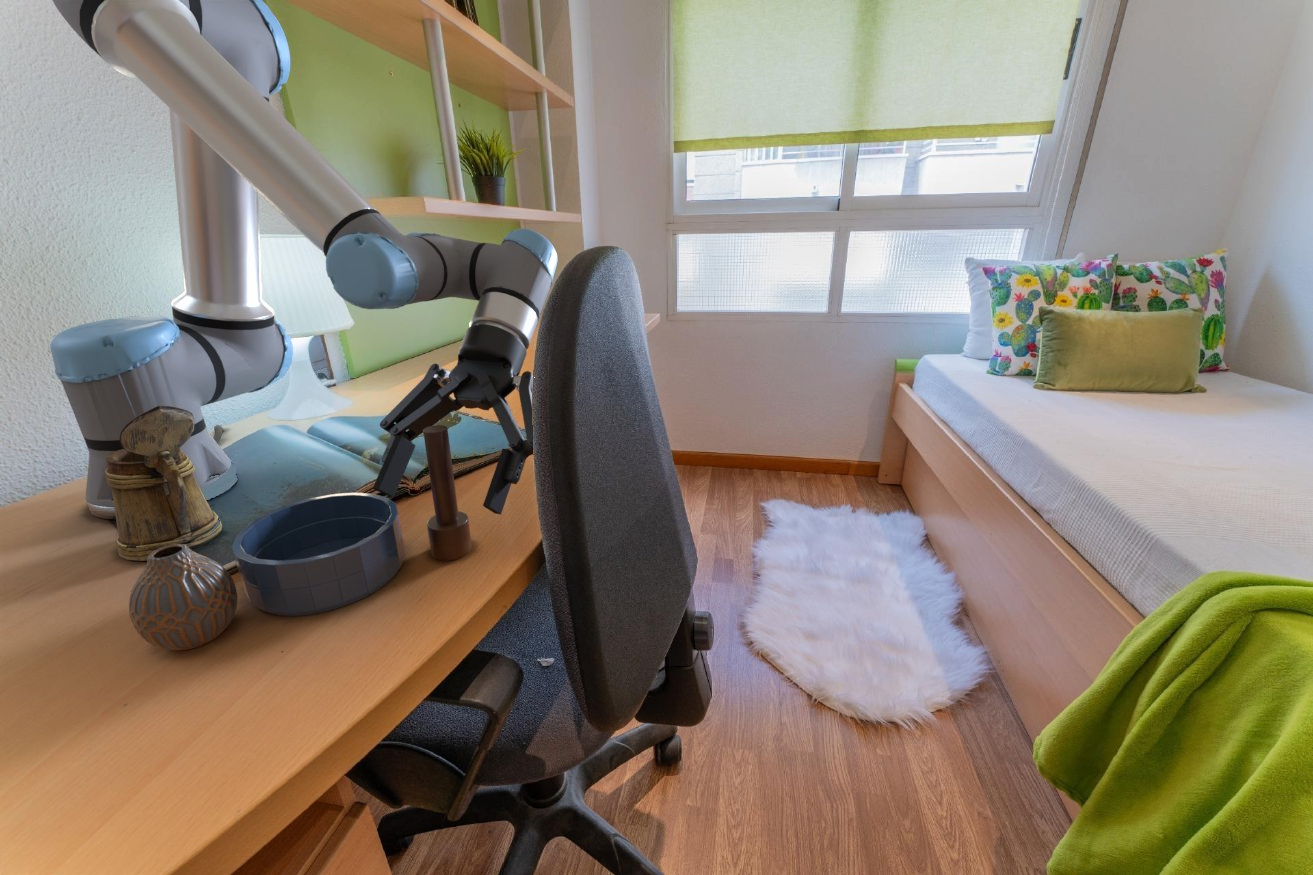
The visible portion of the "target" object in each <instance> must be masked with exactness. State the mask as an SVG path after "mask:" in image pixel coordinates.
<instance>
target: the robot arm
mask: <svg viewBox="0 0 1313 875" xmlns="http://www.w3.org/2000/svg"><path fill="white" fill-rule="evenodd" d="M51 1H52V2H53V4H54V6H55V7H56V9H57V11H58V12H59V13H60V15H61V16H62V17H63V19H64V20H65V21H66V23H67V24H68V25H69V26H70V28H71V29H72V30H73V31H74V32H75V33H76V34H77V35H78V36H79V38H80V39H81V40H82V41H83V42H85V44H86V45H87V46H88V47H89V48H90V49H91V50H92V51H94V52H95V54H97V55H98V56H99V57H100V58H101V59H102V60H103V61H104V62H105V63H107V65H109V67H111V68H112V69H114V70H115V71H117V72H118V73H120V74H122V75H123V76H124V77H125V76H126V77H128V78H130V79H135V80H139V81H140V82H142V83H143V85H145V86H146V87H147V88H148V89H149V90H150V91H151V92H152V93H153V94H154V95H155V96H156V97H157V98H158V99H160V100H161V102H162V103H164V104H165V105H166V107H168V110H169V120H170V121H169V122H170V132H171V134H170V135H171V144H172V158H173V169H174V180H175V191H176V202H177V213H178V225H179V238H180V249H181V259H182V274H183V284H184V291H183V293H181V294H180V295H178V296H177V297H175V298H174V299H173V300H172V301H171V311H172V318H170V317H168V316H164V315H153V314H152V315H151V314H148V315H147V314H146V315H131V316H125V317H119V318H108V319H102V320H97V321H92V322H87V323H84V324H80V325H75V326H73V327H69V328H67V329H65V330H63V331H60V332H59V333H57V334H56V335H55V336H54V337H53V339H52V340H51V342H50V344H49V349H50V353H51V356H52V361H53V364H54V373H55V375H56V377H57V378H58V380H60V382H61V385H62V387H63V390H64V392H65V396H66V397H67V400H68V403H69V404H70V407H71V410H72V412H73V415H74V417H75V420H76V422H77V425H78V427H79V430H80V432H81V436H82V437H83V439H84V442H85V445H86V448H87V450H88V451H87V452H88V466H87V474H86V475H87V476H86V477H87V478H86V487H85V502H86V504H87V506H88V509H89V511H90V513H91V514H92V515H93V516H94V517H96V518H101V519H105V520H116V515H115V508H114V501H113V495H112V489H111V486H110V485H108V483H107V480H106V473H105V471H106V469H107V468H108V466H107V461H106V458H107V457H108V456H109V455H110V454H111V453H113V452H115V451H118V450H121V449H123V447H122V446H121V443H120V434H121V431H122V430H123V429H124V427H125V426H126V425H127V424H128V423H129V422H131V421H132V420H133V419H135V418H137V417H138V416H140V415H142V414H143V413H145V412H147V411H149V410H151V409H153V408H155V407H157V406H171V407H176V408H180V409H184V410H187V411H189V412H191V413H192V414H193V417H194V431H193V432H192V434H191V436H190V438H189V439H188V440H187V441H186V442H185V443H184V444H183V445H182V446H181V447H180V449H181V451H182V452H183V454H184V455H187V456H188V458H189V459H190V461H191V462H192V464H193V465H194V467H195V470H194V472H192V473H193V475H194V477H195V480H196V482H197V484H198V485H199V487H200V489H204V487H206V486H207V485H210V483H213V481H216V480H217V479H219V477H220V476H222V475H223V474H225V472H227V471H228V470H229V468H230V466H231V462H232V460H231V459H230V458H229V457H228V455H227V454H226V453H225V451H224V450H223V449H222V447H221V446H220V445H219V444H218V442H220V441H221V439H222V436H223V433H224V432H225V429H224V427H223V426H222V425H219V424H215V425H214V427H213V431H214V435H213V436H212V435H211V434H210V432H209V430H208V427H207V425H206V421H205V417H204V414H203V411H202V410H203V409H202V407H203V406H204V407H205V406H208V405H210V404H214V403H217V402H221V401H224V400H227V399H231V398H234V397H238V396H240V395H244V394H247V393H248V394H249V393H255V392H259V391H261V390H263V389H265V388H266V387H269V386H271V385H274V384H276V383H278V382H279V381H281V380H282V379H283V378H284V377H285V376H286V375H287V374H288V372H289V371H290V369H291V367H292V364H293V360H294V346H293V342H292V339H291V337H290V335H289V334H287V333H286V332H285V331H286V328H285V326H284V325H283V324H282V323H281V322H280V321H279V320H277V319H276V318H275V310H274V309H273V307H271V306H270V305H268V304H267V303H266V302H265V301H264V300H263V299H262V274H261V273H262V270H261V243H260V242H261V240H260V239H261V238H260V212H259V211H260V210H259V209H260V208H259V206H260V205H259V195H261V197H263V199H265V201H267V202H268V203H269V204H270V205H271V206H272V207H273V208H274V209H275V210H276V211H277V212H278V213H279V214H280V215H281V216H282V217H283V218H284V219H286V221H288V222H289V223H290V224H291V225H292V226H293V227H294V228H295V229H296V230H297V231H298V232H299V233H300V234H301V235H303V237H304V238H306V239H307V240H308V242H310V243H311V244H312V245H313V246H314V247H315V248H317V250H318V251H319V252H320V253H321V254H323V256H325V270H326V275H327V277H328V278H329V279H330V282H331V284H332V286H333V287H332V288H333V289H334V292H335V293H336V294H337V295H338V296H339V297H341V298H342V299H343V300H344V301H345V302H347V303H348V304H350V305H351V306H354V307H355V308H360V309H363V310H385V309H386V310H394V309H399V308H402V307H405V306H407V305H413V304H418V303H424V302H431V301H437V300H442V299H448V298H456V299H463V300H464V299H465V300H470V301H477V305H476V307H475V309H474V311H473V314H472V316H471V318H470V321H469V324H468V325H469V327H468V328H467V329H466V331H465V333H464V335H463V339H462V341H461V343H460V345H459V347H458V351H457V363H456V365H455V366H454V367H453V368H452V369H451V370H450V369H447V368H442V366H440V364H438V363H432V364H431V365H430V366H429V368H428V370H427V372H426V374H425V375H424V377H423V378H422V379H421V380H420V381H419V382H418V383H417V384H416V386H414V387H413V389H412V390H410V392H408V394H406V395H405V396H404V398H402V399H401V401H400V402H399V403H397V405H396V406H394V408H393V409H391V410H390V412H389V413H388V414H386V415H385V417H384V418H383V419H382V420H381V421H380V423H379V427H380V428H382V429H383V430H384V431H386V432H387V433H388V434H389V436H390V438H389V440H388V442H387V445H386V447H385V449H384V451H383V454H382V456H381V462H382V463H383V464H382V466H381V468H380V470H379V473H378V475H377V477H376V480H375V482H374V484H373V486H372V490H375V491H377V492H379V493H381V494H383V495H385V496H386V497H391V498H395V496H396V493H397V491H398V489H399V487H400V484H401V482H402V479H403V477H404V475H405V472H406V469H407V467H408V465H409V462H410V460H411V458H412V455H413V453H414V451H415V448H416V444H414V443H413V441H414V440H415V439H416V438H418V437H419V436H420V435H422V434H423V429H424V428H426V427H429V426H435V425H436V424H437V423H438V422H440V421H441V420H442V419H444V418H445V417H447V416H448V415H449V414H450V413H452V412H457V411H458V412H459V411H460V410H461V409H462V408H465V409H470V410H473V409H480V410H481V411H490V409H493V412H494V413H495V416H496V418H497V421H498V423H499V424H500V427H501V429H502V431H503V433H504V435H505V437H506V440H507V442H508V444H507V446H508V447H509V448H510V449H511V450H510V449H509V448H502V449H501V452H500V454H499V458H498V461H497V464H496V467H495V468H494V469H495V470H494V472H493V475H492V477H491V481H490V484H489V487H488V490H487V492H486V495H485V498H484V502H483V504H482V507H484V509H487V510H489V511H490V512H492V513H493V514H496V515H502V514H503V511H504V507H505V505H506V501H507V498H508V495H509V491H510V489H511V486H512V484H513V485H517V484H518V482H519V481H520V479H521V477H522V476H521V475H522V473H523V470H524V467H525V464H526V460H527V459H528V458H529V457H530V456H533V455H534V454H533V425H532V389H533V376H534V375H533V374H532V372H531V371H529V370H526V371H523V372H522V374H521V371H522V369H523V365H524V362H525V360H526V358H527V350H528V349H529V347H530V345H531V342H532V339H533V337H534V333H535V331H536V328H537V325H538V322H539V320H540V319H539V318H540V316H541V313H542V311H543V308H544V305H545V303H546V300H547V297H548V294H549V292H550V289H551V287H552V286H553V283H554V276H555V272H556V270H557V267H558V266H557V265H558V254H557V251H556V248H555V247H554V245H553V244H552V243H551V241H550V240H549V239H548V238H546V237H545V236H544V235H543V234H541V233H540V232H537V231H535V230H533V229H529V228H517V229H515V230H510V231H509V232H508V233H506V235H505V238H503V240H502V241H501V243H500V244H497V243H490V242H479V241H474V240H467V239H463V238H456V237H451V236H445V235H441V234H438V233H434V232H433V233H429V232H410V233H407V234H406V235H404V234H403V233H402V232H400V231H399V230H398V229H397V228H396V227H395V226H394V225H393V224H392V223H391V222H390V221H388V219H387V218H385V217H384V216H383V214H382V213H381V212H379V210H377V208H375V207H374V205H372V204H371V203H370V202H369V200H368V199H366V197H365V196H363V195H362V194H361V193H360V191H358V190H357V189H356V187H355V186H353V184H352V183H351V182H349V181H348V180H347V179H346V177H344V175H343V174H342V173H340V171H338V170H337V169H336V168H335V166H333V164H331V162H330V161H329V160H328V159H326V157H324V156H323V154H321V152H319V150H318V149H316V147H314V146H313V145H312V144H311V142H310V141H308V140H307V138H305V137H304V136H303V135H302V134H301V133H300V132H299V131H298V130H297V129H296V127H294V126H293V125H292V124H291V123H290V122H289V121H288V120H287V119H286V118H285V117H284V116H283V115H282V114H281V113H280V112H279V111H278V110H277V109H276V107H274V105H272V104H271V103H270V96H272V95H274V94H276V93H279V92H280V91H281V90H282V88H283V86H282V85H285V84H286V83H287V82H288V79H289V76H290V72H291V53H290V48H289V43H288V41H287V37H286V34H285V31H284V30H283V27H282V25H281V24H280V21H279V20H278V19H277V17H276V16H275V15H274V13H273V12H272V10H271V9H270V7H269V6H268V5H267V4H266V3H265V1H264V0H51ZM520 374H521V375H520ZM515 390H517V392H518V395H519V400H520V406H521V408H520V409H521V413H522V418H523V425H524V430H525V436H526V439H525V438H524V436H523V433H522V431H521V430H520V428H519V425H518V423H517V421H516V419H515V416H514V415H513V413H512V409H511V407H510V405H509V402H508V401H507V399H506V398H507V397H508V396H509V395H510V394H512V393H513V392H514V391H515ZM451 395H453V397H454V398H453V397H451ZM226 470H227V471H226ZM215 475H219V476H218V477H213V478H210V477H211V476H215Z"/></svg>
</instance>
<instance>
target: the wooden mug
mask: <svg viewBox="0 0 1313 875" xmlns="http://www.w3.org/2000/svg"><path fill="white" fill-rule="evenodd" d="M193 431H194V417H193V414H192V413H191V412H189V411H187V410H184V409H180V408H176V407H171V406H157V407H155V408H153V409H151V410H149V411H147V412H145V413H143V414H142V415H140V416H138V417H137V418H135V419H133V420H132V421H131V422H129V423H128V424H127V425H126V426H125V427H124V429H123V430H122V431H121V434H120V443H121V446H122V447H123V449H121V450H118V451H115V452H113V453H111V454H110V455H109V456H108V457H107V458H106V461H107V466H108V468H107V469H106V471H105V473H106V480H107V483H108V485H110V486H111V489H112V495H113V501H114V508H115V515H116V519H115V521H116V528H117V534H118V538H117V539H116V546H117V554H118V555H119V557H120V558H122V559H123V560H127V561H140V562H144V561H146V562H147V561H148V557H149V555H150V554H151V553H152V552H153V551H155V550H157V549H159V548H161V547H164V546H168V545H172V544H184V545H186V546H187V547H188V548H190V549H191V550H193V549H196V548H199V547H201V546H203V545H205V544H207V543H208V542H211V541H212V540H213V539H214V538H216V537H217V536H218V535H219V534H220V533H221V532H222V529H223V524H222V522H221V521H220V525H219V526H218V527H217V528H216V529H215V530H214V531H213V532H211V531H212V530H213V529H214V528H215V526H216V524H217V522H218V518H219V516H218V514H217V513H216V512H215V511H214V510H212V509H211V507H210V504H209V503H208V501H206V499H205V497H204V495H203V493H202V491H201V489H200V487H199V485H198V484H197V482H196V480H195V477H194V475H193V473H192V472H194V470H195V467H194V465H193V464H192V462H191V461H190V459H189V458H188V456H187V455H184V454H183V452H182V451H181V449H180V447H181V446H182V445H183V444H184V443H185V442H186V441H187V440H188V439H189V438H190V436H191V434H192V432H193ZM210 532H211V533H210ZM209 533H210V534H209ZM206 535H207V536H206Z"/></svg>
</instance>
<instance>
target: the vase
mask: <svg viewBox="0 0 1313 875" xmlns="http://www.w3.org/2000/svg"><path fill="white" fill-rule="evenodd" d="M128 600H129V601H128V614H129V618H130V620H131V624H132V625H133V627H134V630H135V631H136V633H137V634H138V635H139V636H140V637H141V638H142V639H143V640H144V641H145V642H146V643H148V644H150V645H151V646H153V647H156V648H158V649H162V650H169V651H187V650H192V649H196V648H198V647H200V646H203V645H206V644H207V643H210V642H212V640H214V639H216V638H217V637H219V636H220V635H221V634H222V633H223V632H225V630H226V629H227V627H228V626H229V625H230V624H231V622H232V620H233V618H234V617H235V615H236V611H237V607H238V590H237V587H236V583H235V582H234V579H233V577H232V575H231V574H230V572H228V570H227V569H226V568H225V567H224V566H223V565H222V564H220V563H219V562H218V561H216V560H214V559H212V558H209V557H208V556H205V555H204V554H203V555H202V554H201V553H197V552H195V551H194V550H193V549H190V548H188V547H187V546H186V545H184V544H172V545H168V546H164V547H161V548H159V549H157V550H155V551H153V552H152V553H151V554H150V555H149V557H148V560H146V564H145V567H144V568H143V570H142V572H141V573H140V575H139V576H138V578H137V580H136V581H135V583H134V584H133V587H132V589H131V590H130V594H129V599H128Z"/></svg>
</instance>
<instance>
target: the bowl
mask: <svg viewBox="0 0 1313 875" xmlns="http://www.w3.org/2000/svg"><path fill="white" fill-rule="evenodd" d="M399 516H400V515H399V511H398V506H397V503H395V502H394V501H392V500H391V499H390V498H389V497H387V496H383V495H379V494H375V493H366V492H342V493H332V494H326V495H321V496H316V497H310V498H307V499H303V500H299V501H296V502H293V503H292V502H291V503H289V504H286V505H284V506H283V505H282V506H281V507H278V508H276V509H274V510H271V511H269V512H267V513H265V514H263V515H261V516H260V517H258V518H256V519H255V520H253V521H251V522H249V523H247V525H245V526H244V527H243V528H242V529H241V530H240V531H239V532H238V533H237V534H236V535H235V536H234V539H233V542H232V545H231V552H232V555H233V557H234V558H233V559H234V561H235V565H236V568H237V571H238V574H239V577H240V580H241V583H242V587H243V590H244V593H245V596H246V597H247V599H248V602H249V603H250V604H251V605H252V606H254V607H255V608H258V609H260V610H261V611H263V612H266V613H268V614H273V615H276V616H283V617H284V616H285V617H286V616H288V617H296V616H309V615H315V614H320V613H326V612H329V611H332V610H336V609H339V608H342V607H345V606H348V605H351V604H353V603H356V602H358V601H360V600H363V599H364V598H366V597H368V596H370V595H372V594H374V593H375V592H377V591H378V590H380V589H382V587H384V586H385V585H387V584H388V583H389V582H390V581H391V580H392V579H393V578H394V577H395V575H396V574H397V573H398V572H399V570H400V569H401V567H402V565H403V562H404V561H405V559H406V550H405V545H404V539H403V532H402V527H401V526H402V525H401V521H400V517H399Z"/></svg>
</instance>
